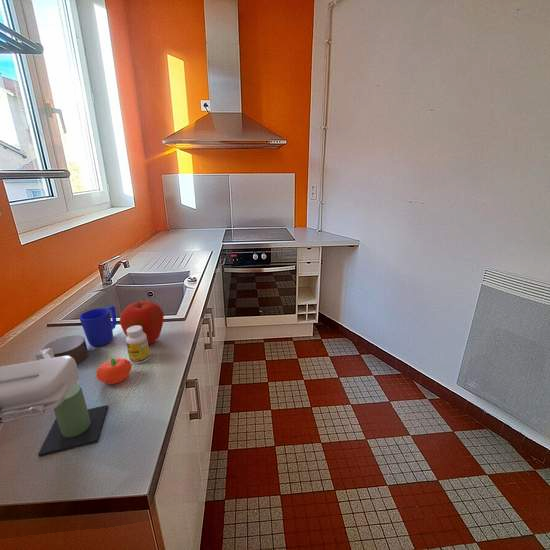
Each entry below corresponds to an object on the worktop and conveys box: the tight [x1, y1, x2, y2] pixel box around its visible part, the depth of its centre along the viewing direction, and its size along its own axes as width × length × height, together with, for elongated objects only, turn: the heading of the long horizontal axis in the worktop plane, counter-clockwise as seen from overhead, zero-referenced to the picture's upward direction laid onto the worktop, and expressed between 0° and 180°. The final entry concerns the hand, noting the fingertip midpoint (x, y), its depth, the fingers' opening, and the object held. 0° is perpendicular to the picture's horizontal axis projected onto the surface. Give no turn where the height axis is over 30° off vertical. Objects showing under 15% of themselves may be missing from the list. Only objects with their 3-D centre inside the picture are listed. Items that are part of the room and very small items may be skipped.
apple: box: [119, 300, 165, 345], centre depth 92 cm, size 12×12×14 cm
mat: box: [37, 404, 109, 457], centre depth 63 cm, size 10×10×1 cm
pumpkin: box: [95, 357, 133, 385], centre depth 77 cm, size 7×8×6 cm
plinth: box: [42, 334, 90, 365], centre depth 86 cm, size 10×10×5 cm
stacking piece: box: [52, 382, 91, 438], centre depth 61 cm, size 5×5×9 cm
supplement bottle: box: [125, 325, 151, 365], centre depth 85 cm, size 5×5×10 cm
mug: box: [78, 305, 117, 347], centre depth 96 cm, size 8×12×10 cm
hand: (9, 359), depth 44 cm, fingers open, 8 cm apart
